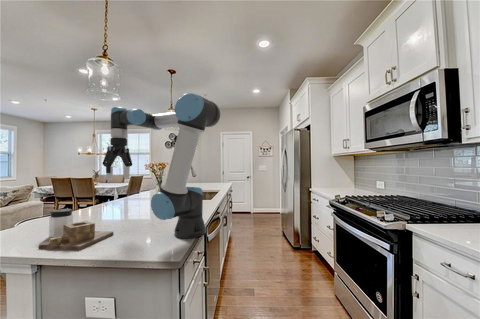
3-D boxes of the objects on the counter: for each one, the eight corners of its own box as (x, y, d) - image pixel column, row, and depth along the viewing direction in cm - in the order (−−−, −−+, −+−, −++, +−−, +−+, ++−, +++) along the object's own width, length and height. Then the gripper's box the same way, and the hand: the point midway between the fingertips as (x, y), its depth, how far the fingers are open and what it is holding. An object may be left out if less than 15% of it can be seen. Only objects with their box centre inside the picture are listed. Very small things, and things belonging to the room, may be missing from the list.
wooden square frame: (86, 233, 105) (86, 220, 106) (94, 236, 100) (94, 223, 100) (47, 241, 94) (47, 227, 94) (53, 246, 88) (54, 231, 89)
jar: (47, 239, 102) (48, 212, 102) (50, 234, 109) (50, 209, 109) (71, 235, 107) (72, 210, 107) (73, 231, 114) (73, 208, 114)
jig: (113, 234, 108) (113, 221, 108) (79, 250, 88) (79, 233, 89) (79, 233, 110) (79, 220, 110) (38, 248, 90) (39, 232, 90)
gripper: (126, 140, 127) (126, 177, 127) (94, 134, 103) (93, 180, 102) (139, 140, 127) (138, 177, 126) (109, 134, 102) (108, 180, 101)
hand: (118, 179), depth 114 cm, fingers open, 13 cm apart
